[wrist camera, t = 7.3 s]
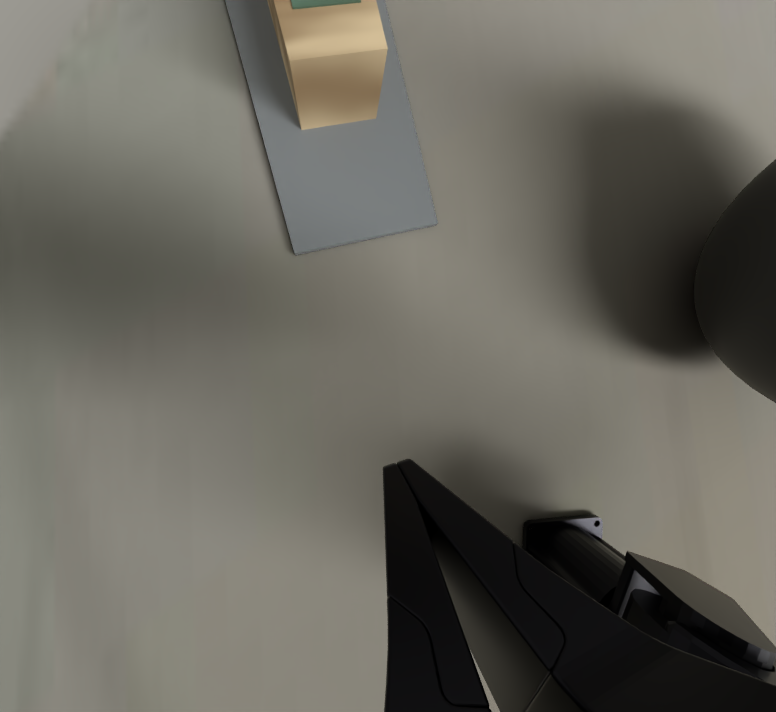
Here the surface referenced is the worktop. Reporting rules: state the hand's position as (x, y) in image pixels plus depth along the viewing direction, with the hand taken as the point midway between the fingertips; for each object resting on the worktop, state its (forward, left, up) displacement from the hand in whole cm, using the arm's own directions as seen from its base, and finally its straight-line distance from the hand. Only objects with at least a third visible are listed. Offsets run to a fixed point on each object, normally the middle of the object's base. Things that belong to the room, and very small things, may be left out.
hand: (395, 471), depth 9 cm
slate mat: (+2, -19, -13) cm, 23 cm away
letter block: (+2, -18, -10) cm, 21 cm away
